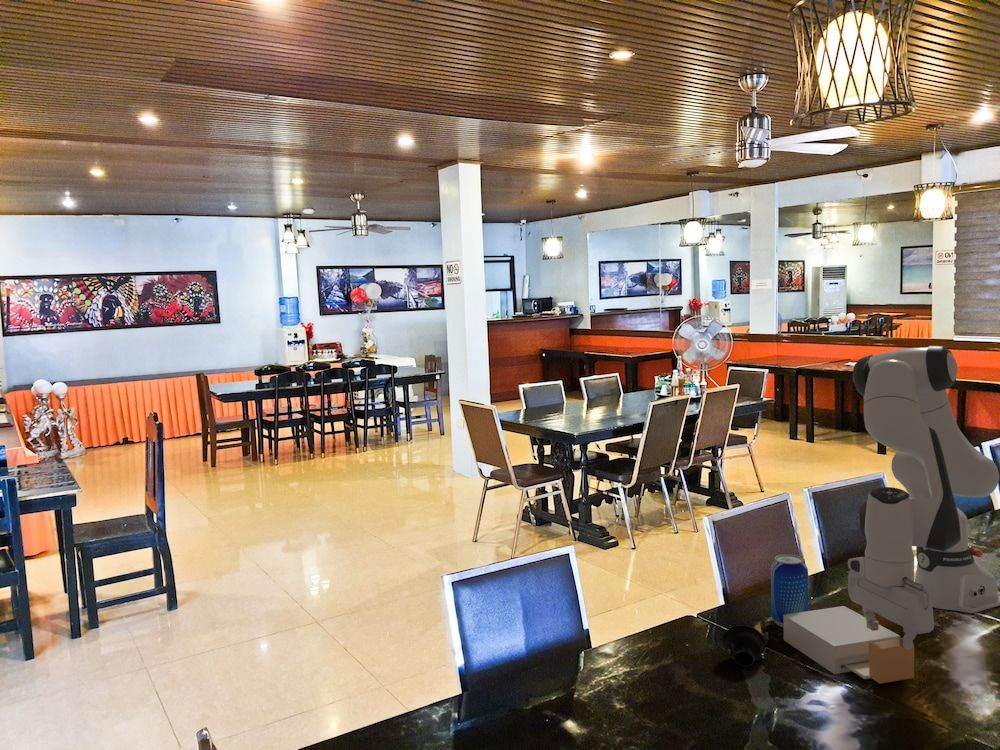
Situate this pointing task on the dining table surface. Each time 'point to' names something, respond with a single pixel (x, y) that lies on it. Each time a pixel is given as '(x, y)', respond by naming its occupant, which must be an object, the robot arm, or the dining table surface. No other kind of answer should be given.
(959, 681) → the dining table surface
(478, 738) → the dining table surface
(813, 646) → the block
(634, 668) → the dining table surface
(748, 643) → the fried shrimp in bowl
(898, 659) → the tan-tipped white bar
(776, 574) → the beer can
